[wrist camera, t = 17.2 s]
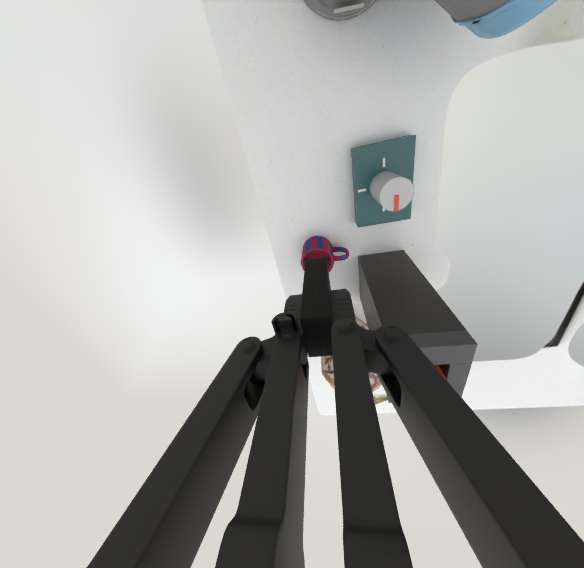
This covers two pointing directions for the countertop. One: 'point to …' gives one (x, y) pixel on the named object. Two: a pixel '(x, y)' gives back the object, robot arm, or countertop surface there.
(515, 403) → the countertop surface
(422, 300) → the button box
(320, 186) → the countertop surface
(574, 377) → the countertop surface
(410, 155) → the dial panel
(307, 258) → the cup
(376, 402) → the tongs
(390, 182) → the dial
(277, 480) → the robot arm
